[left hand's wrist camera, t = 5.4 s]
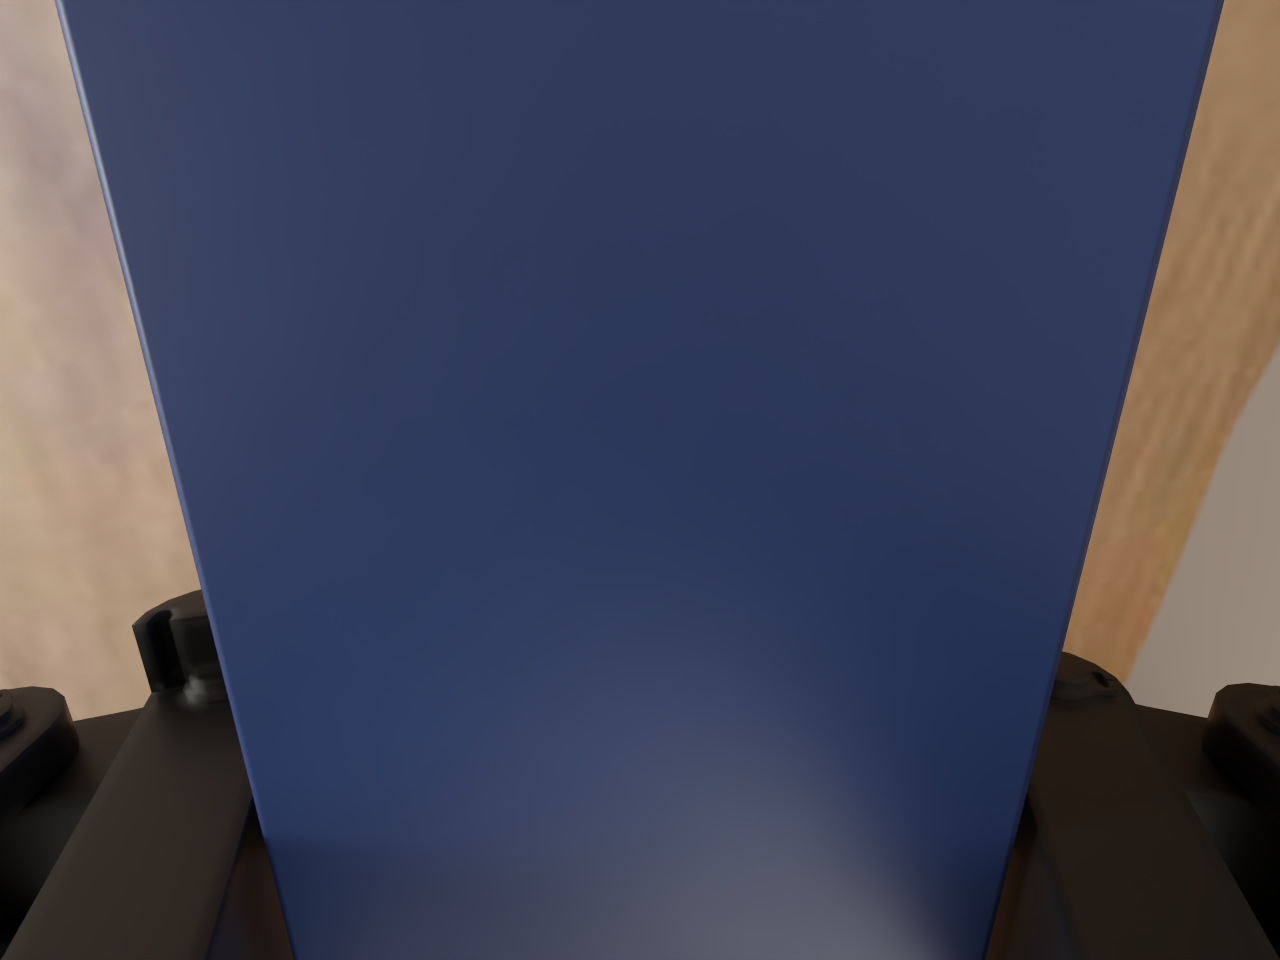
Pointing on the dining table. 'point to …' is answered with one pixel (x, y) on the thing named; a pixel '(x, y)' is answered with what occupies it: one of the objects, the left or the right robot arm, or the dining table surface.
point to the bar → (639, 438)
